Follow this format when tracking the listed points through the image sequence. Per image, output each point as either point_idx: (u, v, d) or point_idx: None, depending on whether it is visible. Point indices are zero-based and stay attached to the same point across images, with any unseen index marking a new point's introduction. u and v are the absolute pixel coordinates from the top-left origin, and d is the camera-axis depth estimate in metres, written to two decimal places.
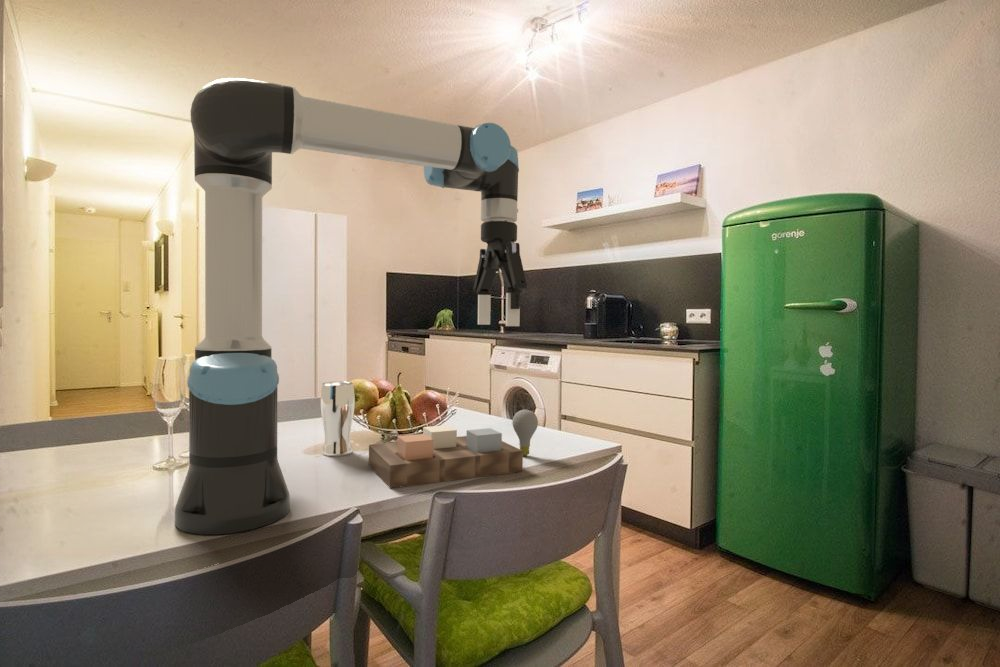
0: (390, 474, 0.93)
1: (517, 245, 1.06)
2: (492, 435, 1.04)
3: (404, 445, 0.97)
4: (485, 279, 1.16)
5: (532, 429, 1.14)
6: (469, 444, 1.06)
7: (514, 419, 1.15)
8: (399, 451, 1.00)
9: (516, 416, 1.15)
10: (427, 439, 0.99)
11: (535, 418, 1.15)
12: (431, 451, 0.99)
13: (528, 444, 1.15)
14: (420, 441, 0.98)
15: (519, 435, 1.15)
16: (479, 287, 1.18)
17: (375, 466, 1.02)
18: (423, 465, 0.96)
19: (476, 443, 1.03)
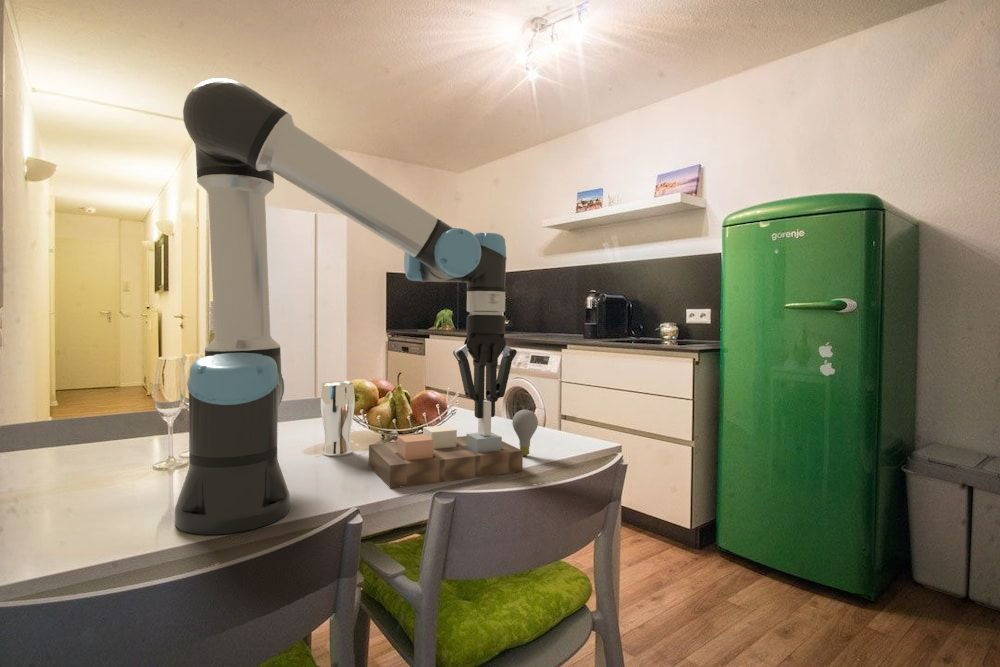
0: (390, 474, 0.93)
1: (457, 355, 1.02)
2: (492, 439, 1.04)
3: (404, 445, 0.97)
4: (486, 377, 1.07)
5: (532, 429, 1.14)
6: (469, 448, 1.06)
7: (514, 419, 1.15)
8: (399, 451, 1.00)
9: (516, 416, 1.15)
10: (427, 439, 0.99)
11: (535, 418, 1.15)
12: (431, 451, 0.99)
13: (528, 444, 1.15)
14: (420, 441, 0.98)
15: (519, 435, 1.15)
16: None
17: (375, 466, 1.02)
18: (423, 465, 0.96)
19: (476, 447, 1.03)
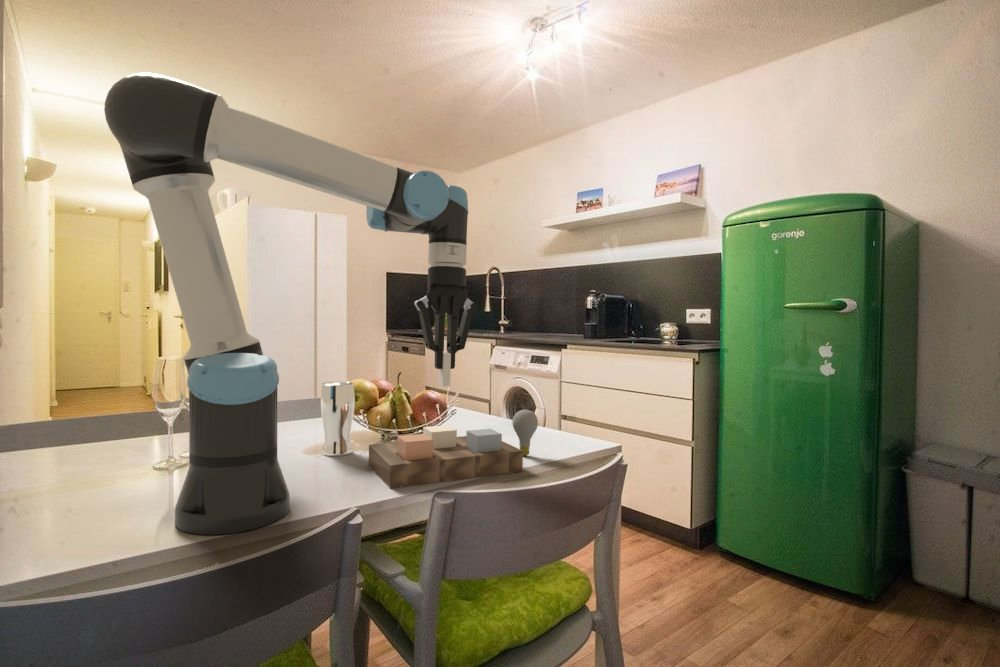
0: (390, 474, 0.93)
1: (417, 305, 1.04)
2: (492, 435, 1.04)
3: (404, 445, 0.97)
4: (447, 330, 1.08)
5: (532, 429, 1.14)
6: (469, 444, 1.06)
7: (514, 419, 1.15)
8: (399, 451, 1.00)
9: (516, 416, 1.15)
10: (427, 439, 0.99)
11: (535, 418, 1.15)
12: (431, 451, 0.99)
13: (528, 444, 1.15)
14: (420, 441, 0.98)
15: (519, 435, 1.15)
16: None
17: (375, 466, 1.02)
18: (423, 465, 0.96)
19: (476, 443, 1.03)
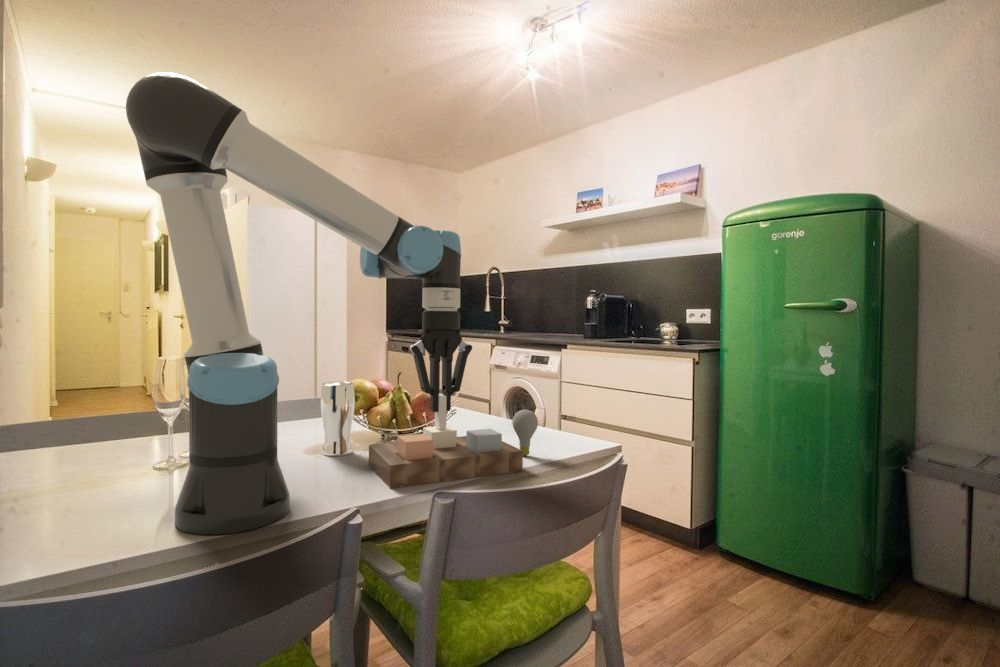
0: (390, 474, 0.93)
1: (412, 350, 1.05)
2: (492, 435, 1.04)
3: (404, 445, 0.97)
4: (442, 372, 1.09)
5: (532, 429, 1.14)
6: (469, 444, 1.06)
7: (514, 419, 1.15)
8: (399, 451, 1.00)
9: (516, 416, 1.15)
10: (427, 439, 0.99)
11: (535, 418, 1.15)
12: (431, 451, 0.99)
13: (528, 444, 1.15)
14: (420, 441, 0.98)
15: (519, 435, 1.15)
16: None
17: (375, 466, 1.02)
18: (423, 465, 0.96)
19: (476, 443, 1.03)
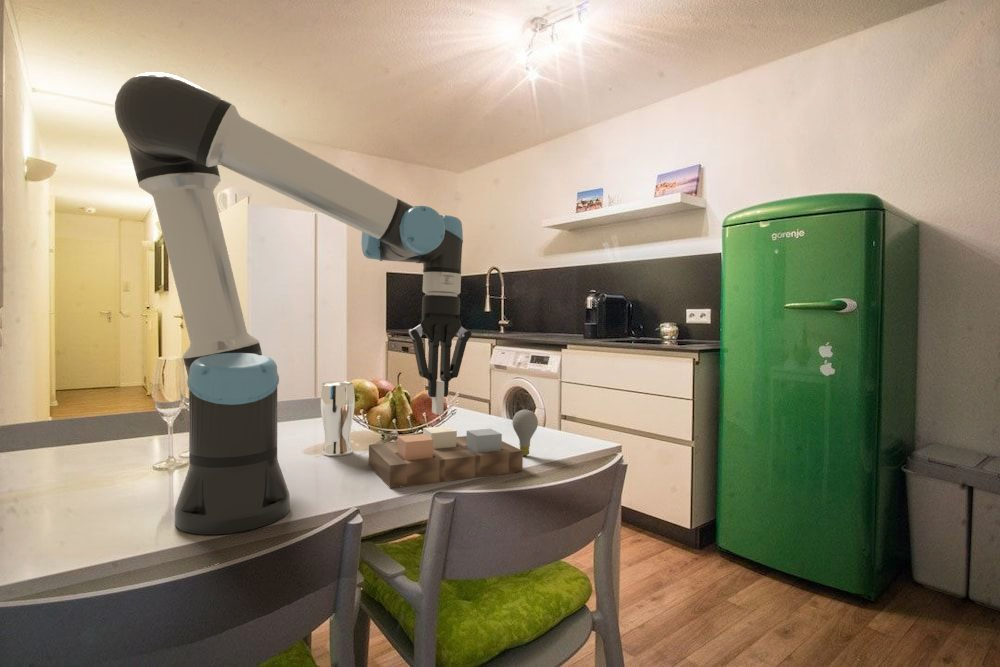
0: (390, 474, 0.93)
1: (411, 334, 1.04)
2: (492, 435, 1.04)
3: (404, 445, 0.97)
4: (441, 357, 1.09)
5: (532, 429, 1.14)
6: (469, 444, 1.06)
7: (514, 419, 1.15)
8: (399, 451, 1.00)
9: (516, 416, 1.15)
10: (427, 439, 0.99)
11: (535, 418, 1.15)
12: (431, 451, 0.99)
13: (528, 444, 1.15)
14: (420, 441, 0.98)
15: (519, 435, 1.15)
16: None
17: (375, 466, 1.02)
18: (423, 465, 0.96)
19: (476, 443, 1.03)
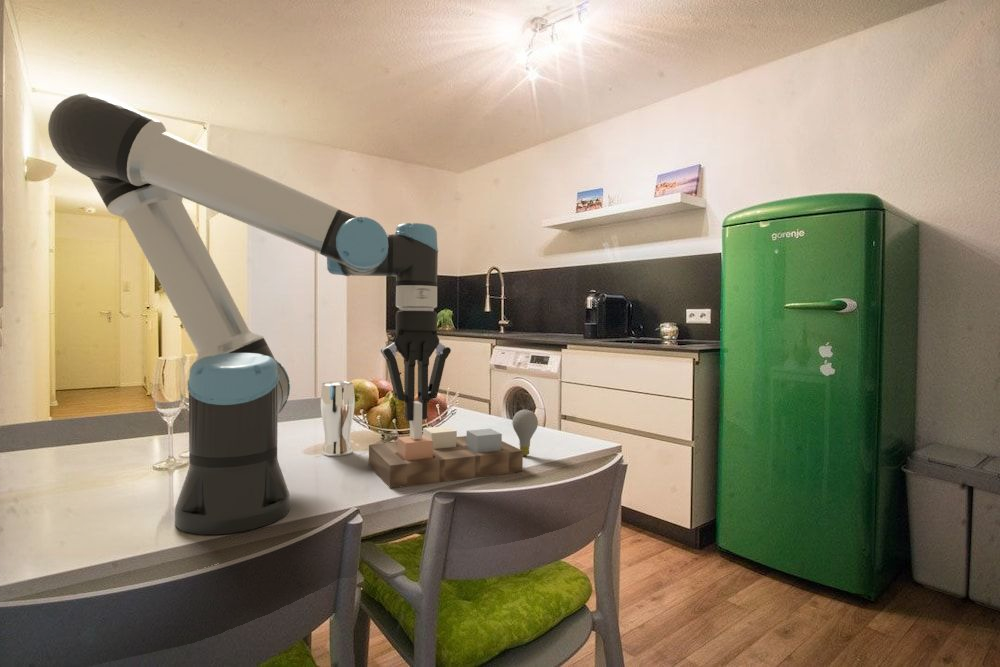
0: (390, 474, 0.93)
1: (384, 353, 0.96)
2: (492, 435, 1.04)
3: (404, 446, 0.97)
4: (418, 377, 1.01)
5: (532, 429, 1.14)
6: (469, 444, 1.06)
7: (514, 419, 1.15)
8: (399, 452, 1.00)
9: (516, 416, 1.15)
10: (427, 440, 0.99)
11: (535, 418, 1.15)
12: (431, 452, 0.99)
13: (528, 444, 1.15)
14: (420, 442, 0.98)
15: (519, 435, 1.15)
16: None
17: (375, 466, 1.02)
18: (423, 465, 0.96)
19: (476, 443, 1.03)
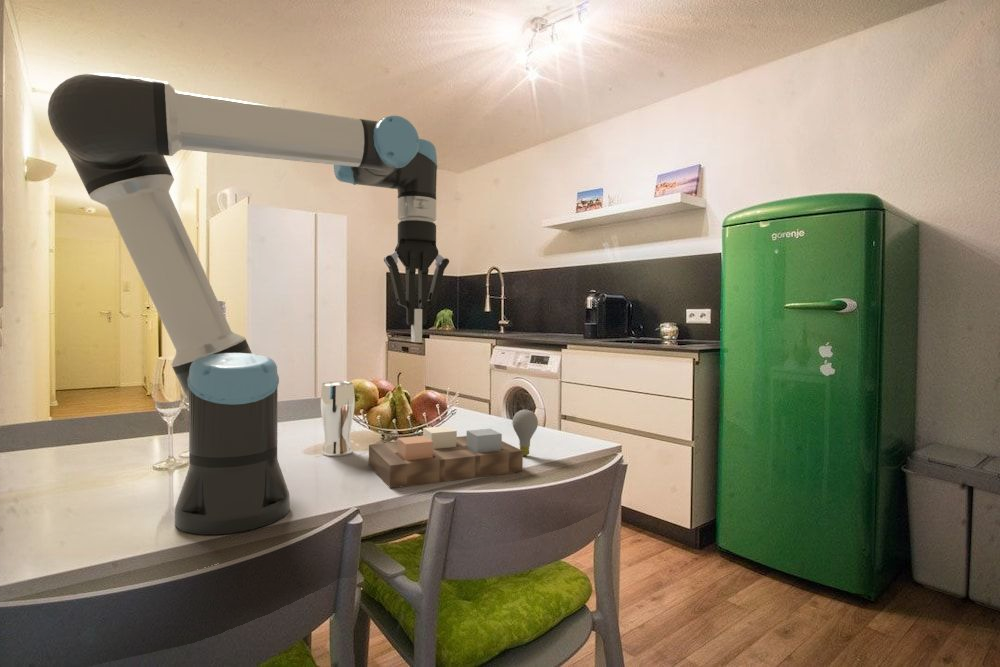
0: (390, 474, 0.93)
1: (386, 260, 1.04)
2: (492, 435, 1.04)
3: (404, 446, 0.97)
4: (419, 286, 1.08)
5: (532, 429, 1.14)
6: (469, 444, 1.06)
7: (514, 419, 1.15)
8: (399, 453, 1.00)
9: (516, 416, 1.15)
10: (427, 441, 0.99)
11: (535, 418, 1.15)
12: (431, 453, 0.99)
13: (528, 444, 1.15)
14: (420, 443, 0.98)
15: (519, 435, 1.15)
16: None
17: (375, 466, 1.02)
18: (423, 465, 0.96)
19: (476, 443, 1.03)
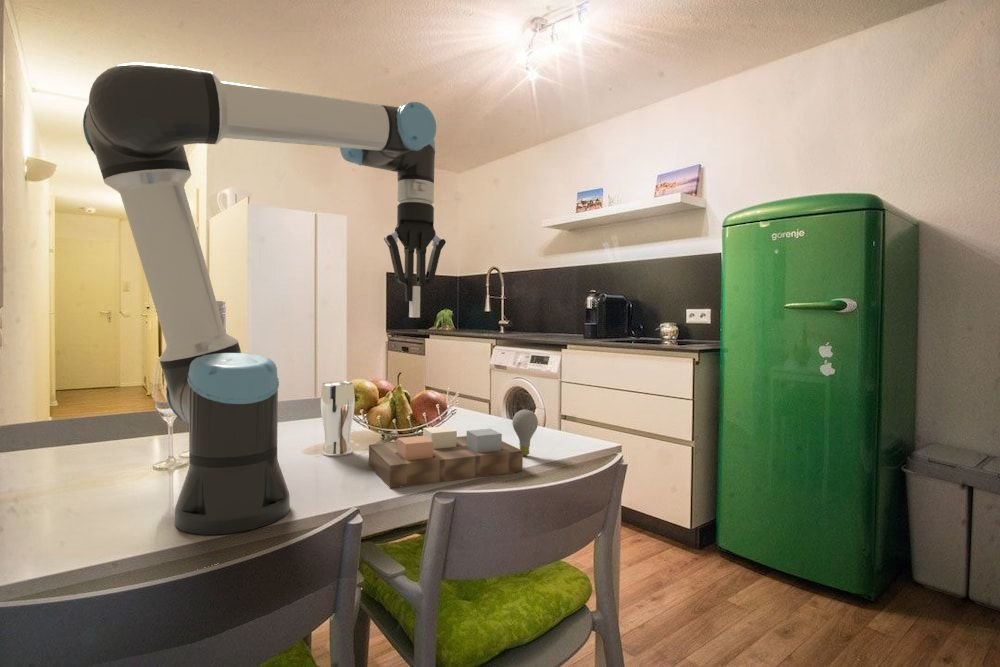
0: (390, 474, 0.93)
1: (387, 239, 1.10)
2: (492, 435, 1.04)
3: (404, 446, 0.97)
4: (417, 265, 1.14)
5: (532, 429, 1.14)
6: (469, 444, 1.06)
7: (514, 419, 1.15)
8: (399, 453, 1.00)
9: (516, 416, 1.15)
10: (427, 441, 0.99)
11: (535, 418, 1.15)
12: (431, 453, 0.99)
13: (528, 444, 1.15)
14: (420, 443, 0.98)
15: (519, 435, 1.15)
16: None
17: (375, 466, 1.02)
18: (423, 465, 0.96)
19: (476, 443, 1.03)
